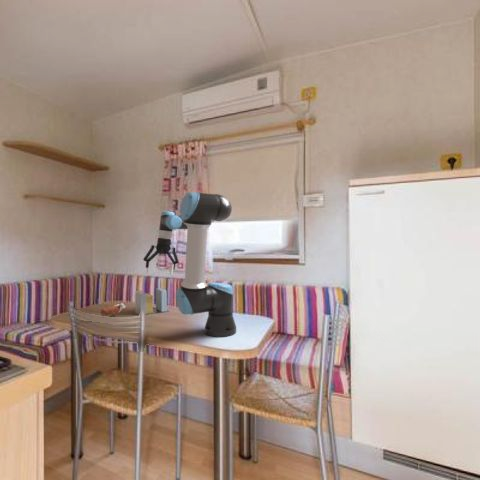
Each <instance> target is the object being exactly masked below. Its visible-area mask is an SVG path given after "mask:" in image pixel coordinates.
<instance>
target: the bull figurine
mask: <svg viewBox="0 0 480 480" xmlns="http://www.w3.org/2000/svg"><path fill="white" fill-rule="evenodd" d="M124 309H126V306H125V304H124V303H123V302H121V303H120V304H119V303H117V304H115V305H112V306H110V307H105V308H104V307H103V308H102V309H101V310H100V314H101V316H102V315H103V316H108V317H111V316H113V315H114V317H116V316H117V317H118V315H119V314H120V312H121V311H122V310H124Z"/></svg>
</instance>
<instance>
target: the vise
mask: <svg viewBox="0 0 480 480" xmlns="http://www.w3.org/2000/svg"><path fill="white" fill-rule="evenodd" d="M146 294H147V293H146V292H145V291H142V290H136V291H135V310H134V313H136V314H137V315H138V316H139V314H140V312H141V311H144V313H145V315H144V316H150V315H156V314H162V313H168V312H170V311H169V310H167V311H165V312H161V311H159V310H158V309H156V308H153V313H152V314H146Z"/></svg>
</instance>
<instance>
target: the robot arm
mask: <svg viewBox="0 0 480 480" xmlns="http://www.w3.org/2000/svg"><path fill="white" fill-rule="evenodd" d="M232 208H233V206H232V204H231V201H230V200H229V199H228V198H227V197H226V196H224V195H222V194H217V193H214V194H213V193H205V192H197V191H196V192H187V193H186V194H184V196H183V197H182V200H181V202H180V206H179V215H176V214H175V212H173V211H167V210H162V212H161V213H160V220H159V221H160V222H159V230H158V235H157V237H158V238H157V241H156V245H154V244H151V245H150V249H149V250H148V251H147V252H146V254H145V256H144V257H143V258H142V259H143V261H144V262H146V263H145V268H146V274H147V275H150V271H151V269H150V268H151V261H152V260H153V259H154V258H155V257H157V256H158V255H159V254H160V255H167V256H168V259H170V261H171V262H172V263H171V264H170V271H169V276H173V273H174V270H175V269H176V264H179V263H180V261H179V259H178V255H177V252H176V247H174V246H172V247H171V243H172V237H173V236H172V235H173V230H187V232H186V233H187V234H186V250H185V251H186V252H185V253H186V254H185V266H184V267H185V271H184V272H185V274H184V280H183V281H182V282H181V283H180V288H178V289H176V291H175V300H176V304H177V308H178V311H179V312H180V313H181V314H182V315H184V316H185V315H186V316H187V315H195V314H202V313H208V316H207V319H206V322H205V325H204V334H206V335H207V336H210V337H217V338H220V337H221V338H223V337H230V336H233V335H234V334H236V333H237V326H236V325H237V324H236V322H235V318H234V312H233V311H234V309H233V308H234V290H233V289H234V287H233V286H232V285H231V284H229V283H226V282H225V283H223V282H215V281H212V282H209V283H208V284H207V282H206V281H205V274H206V273H205V271H206V258H207V257H206V255H207V240H208V239H207V238H208V228H209V227H211V225H212V223H214V222H222V221H224V220H227V219H229V217H230V216H231V214H232V212H233V211H232V210H233V209H232ZM155 249H156V250H155ZM154 250H155V251H154ZM153 251H154V253H152V252H153ZM170 251H171V253H172V255H173V256H172V255H171V253H170Z"/></svg>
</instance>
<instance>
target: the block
mask: <svg viewBox="0 0 480 480" xmlns="http://www.w3.org/2000/svg"><path fill="white" fill-rule="evenodd" d="M153 309H154V296H153V295H152V294H151V293H146V314H150V315H153V314H152V313H153Z"/></svg>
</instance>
